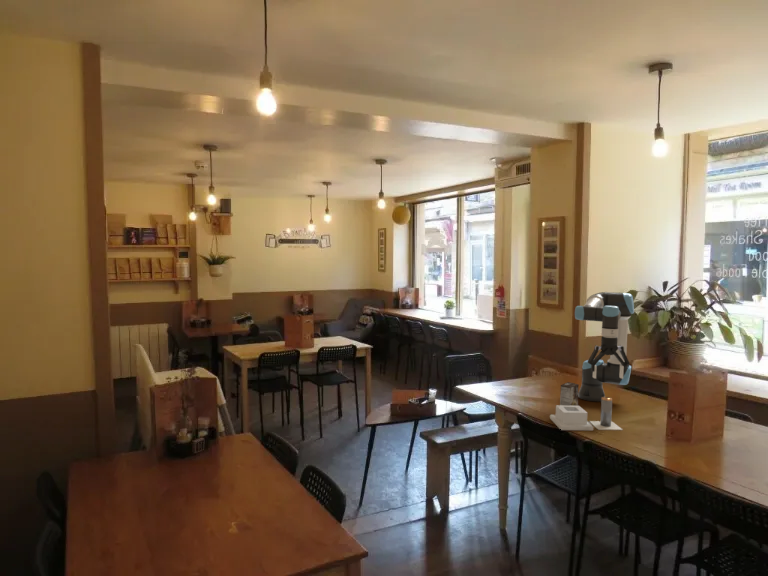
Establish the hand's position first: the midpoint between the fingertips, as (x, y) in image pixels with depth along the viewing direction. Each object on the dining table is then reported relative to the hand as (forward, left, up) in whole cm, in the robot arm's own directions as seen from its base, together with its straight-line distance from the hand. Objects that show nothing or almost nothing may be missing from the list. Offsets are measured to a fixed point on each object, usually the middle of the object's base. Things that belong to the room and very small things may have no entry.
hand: (607, 378), depth 266 cm
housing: (-2, -17, -25) cm, 30 cm away
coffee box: (-20, -12, -25) cm, 34 cm away
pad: (0, 0, -25) cm, 25 cm away
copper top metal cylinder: (0, 0, -24) cm, 24 cm away
